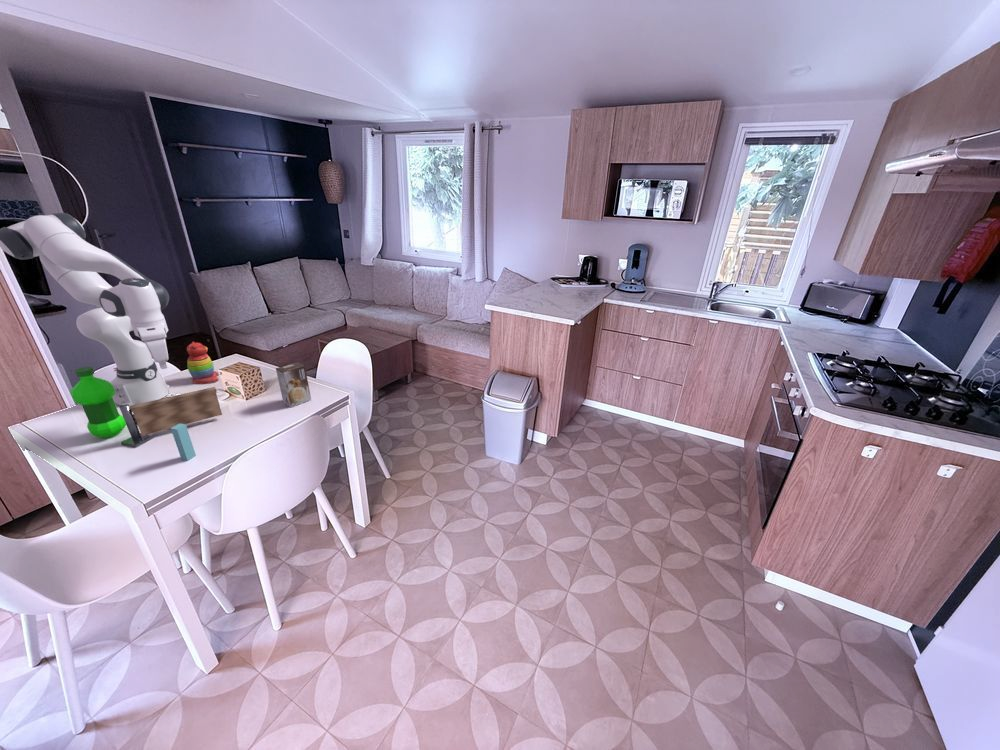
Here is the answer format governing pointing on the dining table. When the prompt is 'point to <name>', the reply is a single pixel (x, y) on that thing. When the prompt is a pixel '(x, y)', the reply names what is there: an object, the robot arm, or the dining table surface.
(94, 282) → the robot arm
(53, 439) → the dining table surface
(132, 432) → the hinge post
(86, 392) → the plastic bottle
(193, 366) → the stacking bear
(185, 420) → the gate
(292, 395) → the coffee box
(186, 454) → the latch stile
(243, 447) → the dining table surface
